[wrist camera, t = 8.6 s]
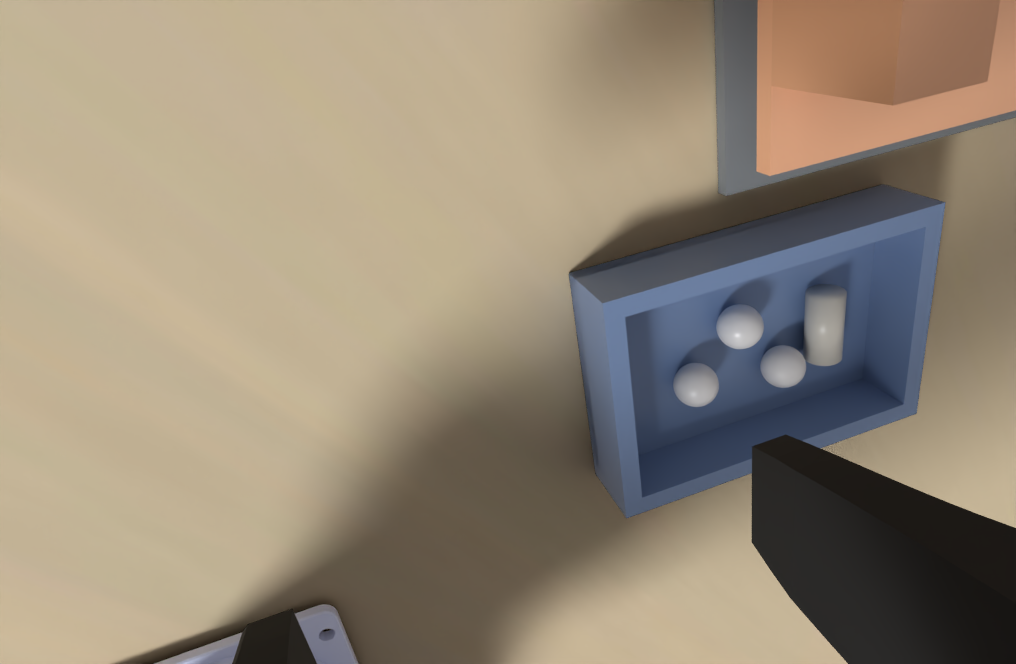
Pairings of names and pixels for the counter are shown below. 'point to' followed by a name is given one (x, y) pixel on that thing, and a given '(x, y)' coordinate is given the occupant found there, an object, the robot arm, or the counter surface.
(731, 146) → the mat
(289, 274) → the counter surface
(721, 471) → the blue box
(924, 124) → the lid
